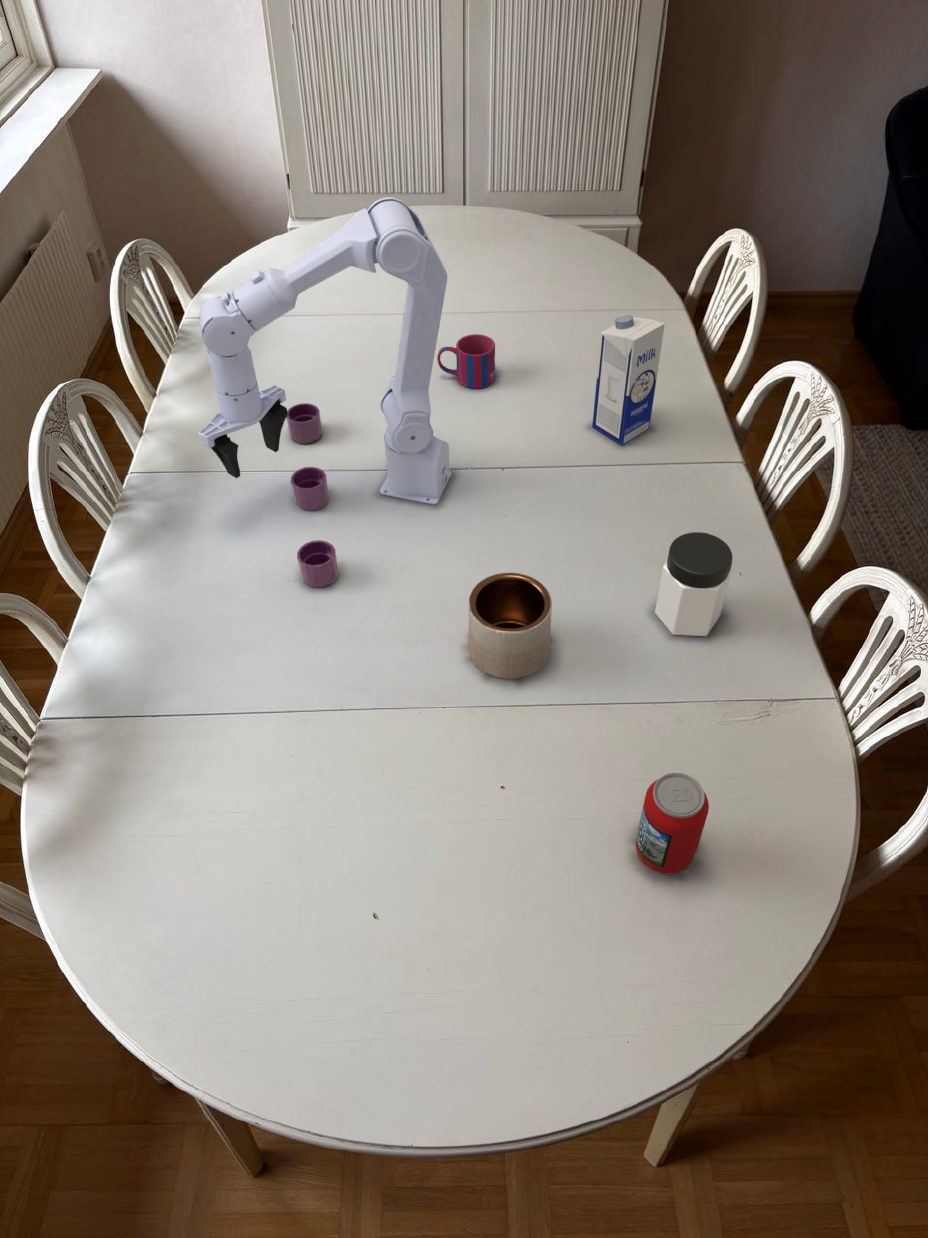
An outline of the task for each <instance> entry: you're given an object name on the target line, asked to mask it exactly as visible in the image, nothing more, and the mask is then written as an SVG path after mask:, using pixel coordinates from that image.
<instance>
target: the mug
mask: <svg viewBox="0 0 928 1238" xmlns="http://www.w3.org/2000/svg"><path fill="white" fill-rule="evenodd" d="M444 352H451V353H453V354H454V355H455V358H456V369H451V368H448V367H447V366H445V365H444V364H443V363H442V361H441V355H442V354H443V353H444ZM436 358H437V364H438V367H439V368H440V369H441V370H442V371H443V372H444V373H446V374H449V375H453V376H456V379H457V382H458V384H459V385H460V386H462V387H464V388H467V389H472V390H481V389H485V388H487V387H489V386H491V385H492V384H493V383H494V382H495V378H496V342H495V341H494V339H493V338H492V337H489V336H487V335H484V334H479V333H477V334H476V333H474V334H468V335H465V336H462V337H461V338H459V339H458V340H457V342H456V344H455V347H453V346H444V347H441V348H440V349H439V351H438V353H437V356H436Z"/></svg>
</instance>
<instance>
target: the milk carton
mask: <svg viewBox="0 0 928 1238" xmlns="http://www.w3.org/2000/svg"><path fill="white" fill-rule="evenodd" d="M614 323H615V324H614V325H612V326H610V327H608V328H606V329H605V330H603V331H601V332H600V341H599V352H598V362H597V375H596V382H595V394H594V402H593V403H594V404H593V416H592V424H591V428H592V429H594V430H595V431H597V432H598V433H600V434H601V435H603V436H605V437H606V438H608V439H610V440H611V441H613V442H615V443H616V444H617V445H619V446H621V447H622V446H624V445H626V444H628V443H629V442H631V441H632V440H633V439H635V438H637V437H638V436H640V435H642V434H644V433H645V432H648V431H649V430H650V425H651V419H652V414H653V413H652V411H653V406H654V398H655V392H656V385H657V379H658V372H659V365H660V358H661V352H662V345H663V339H664V331H665V325H666V323H665V322H662V321H659V320H657V319H651V318H646V317H645V318H644V317H638V316H633V315H621V316H618V317H617V318H615V319H614Z"/></svg>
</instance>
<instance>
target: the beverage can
mask: <svg viewBox="0 0 928 1238" xmlns="http://www.w3.org/2000/svg"><path fill="white" fill-rule="evenodd" d="M709 809H710V803H709V800H708V797H707V794H706V792H705V791H704V788H703V787H702V785H701V784H700V782H699V781H698V780H697V779H695V778H694V777H692V776H691V775H688V774H686V773H684V772H683V773H682V772H670V773H669V772H668V773H666V774H664V775H662V776H661V777H660V778H658V779H656V780H654V781H653V782H652V783H651V784H650V785H649V787H648V788H647V789H646V792H645V796H644V800H643V804H642V808H641V814H640V817H639V823H638V828H637V834H636V839H635V849H636V853H637V856H638V858H639V859H640V861H641V862H642V863H643V864H644V865H645V866H646V867H647V868H649V869H651V870H652V871H654V872H656V873H660V874H664V875H672V874H679V873H681V872H683V871H685V870H686V869H687V868H689V866H690V865H691V864H692V863H693V861H694V859H695V857H696V853H697V850H698V848H699V845H700V841H701V837H702V834H703V831H704V828H705V825H706V821H707V817H708V814H709Z"/></svg>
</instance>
